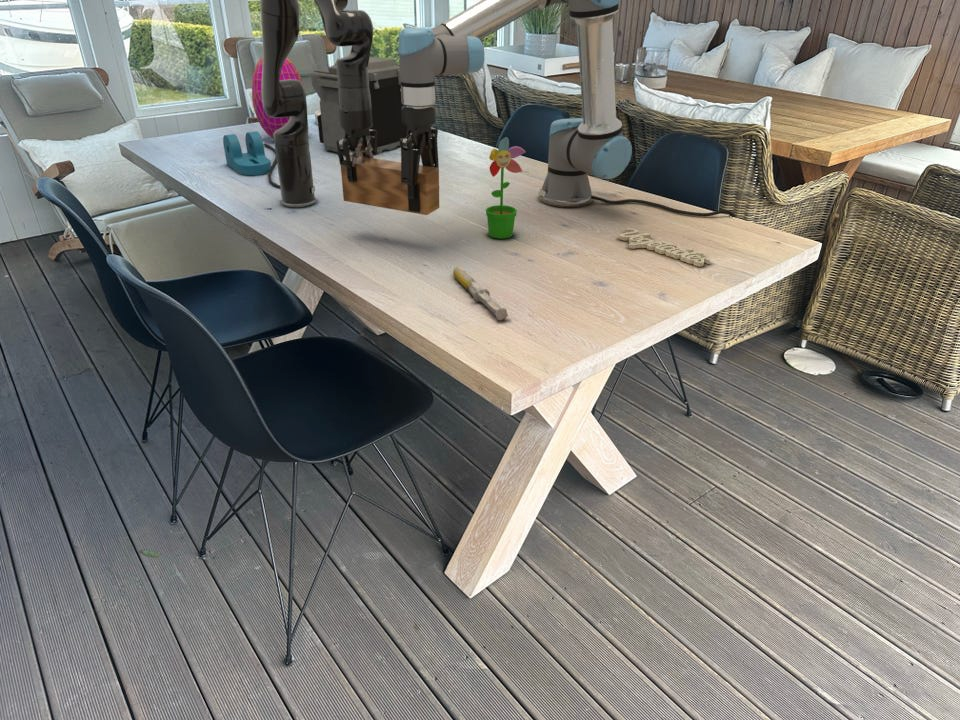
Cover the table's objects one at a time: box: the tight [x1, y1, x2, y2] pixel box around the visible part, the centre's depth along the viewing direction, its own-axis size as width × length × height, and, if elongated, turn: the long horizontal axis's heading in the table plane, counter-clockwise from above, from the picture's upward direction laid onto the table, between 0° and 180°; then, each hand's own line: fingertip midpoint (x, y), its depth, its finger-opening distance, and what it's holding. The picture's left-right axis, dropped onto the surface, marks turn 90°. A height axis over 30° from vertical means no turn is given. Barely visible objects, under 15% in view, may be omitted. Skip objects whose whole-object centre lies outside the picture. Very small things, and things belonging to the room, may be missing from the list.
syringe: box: [452, 266, 509, 321], centre depth 145 cm, size 25×4×3 cm, turn 21°
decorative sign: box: [618, 227, 711, 267], centre depth 169 cm, size 26×1×10 cm
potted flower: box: [485, 136, 527, 239], centre depth 171 cm, size 9×8×25 cm
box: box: [340, 156, 440, 216], centre depth 165 cm, size 24×6×10 cm, turn 65°
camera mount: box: [222, 131, 272, 176], centre depth 226 cm, size 18×10×10 cm, turn 35°
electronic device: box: [310, 56, 407, 157], centre depth 250 cm, size 37×22×30 cm, turn 144°
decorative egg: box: [251, 57, 304, 140], centre depth 257 cm, size 19×19×30 cm
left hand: (360, 177), depth 168 cm, fingers closed on box, 6 cm apart
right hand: (421, 206), depth 164 cm, fingers closed on box, 6 cm apart
